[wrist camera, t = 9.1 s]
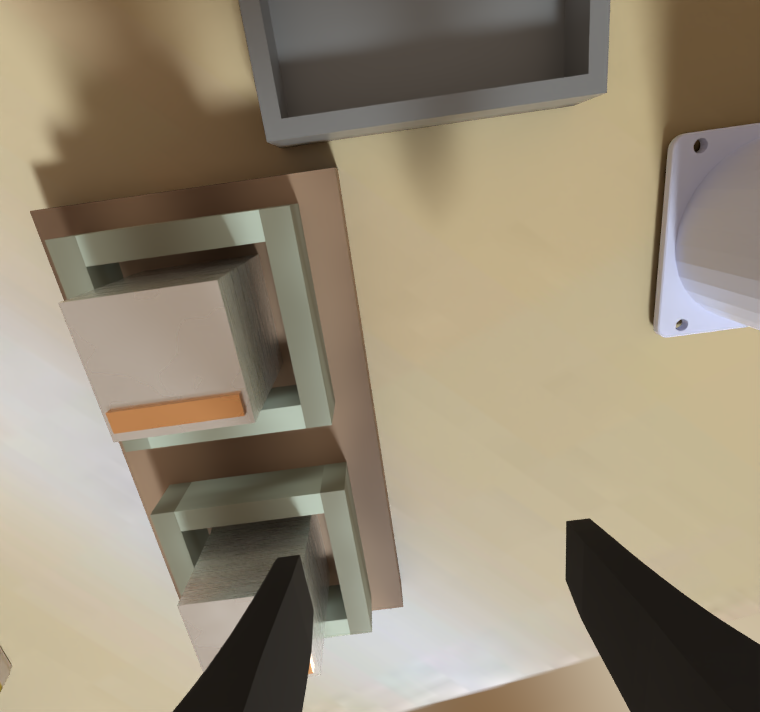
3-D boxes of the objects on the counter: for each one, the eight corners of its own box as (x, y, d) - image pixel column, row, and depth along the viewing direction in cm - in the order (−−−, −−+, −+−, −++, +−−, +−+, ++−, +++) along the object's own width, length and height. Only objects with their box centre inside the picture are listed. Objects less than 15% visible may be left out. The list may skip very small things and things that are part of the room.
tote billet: (258, 254, 17) (215, 281, 12) (283, 363, 19) (253, 425, 14) (142, 270, 17) (54, 304, 12) (177, 377, 19) (111, 444, 14)
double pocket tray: (337, 168, 17) (330, 165, 14) (401, 582, 25) (406, 643, 22) (56, 208, 18) (-15, 214, 14) (202, 607, 25) (177, 670, 22)
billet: (313, 500, 21) (298, 594, 16) (330, 572, 22) (320, 679, 18) (219, 512, 21) (175, 609, 16) (242, 584, 23) (208, 692, 18)
